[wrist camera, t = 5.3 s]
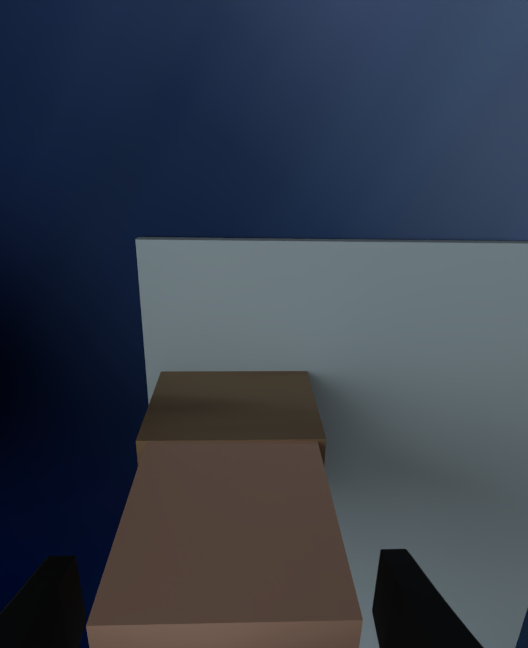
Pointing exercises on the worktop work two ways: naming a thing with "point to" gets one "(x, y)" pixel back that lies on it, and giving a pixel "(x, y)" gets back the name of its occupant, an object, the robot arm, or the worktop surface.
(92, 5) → the worktop surface
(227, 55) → the worktop surface
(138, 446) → the walnut block
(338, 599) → the terracotta block
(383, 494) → the mat
